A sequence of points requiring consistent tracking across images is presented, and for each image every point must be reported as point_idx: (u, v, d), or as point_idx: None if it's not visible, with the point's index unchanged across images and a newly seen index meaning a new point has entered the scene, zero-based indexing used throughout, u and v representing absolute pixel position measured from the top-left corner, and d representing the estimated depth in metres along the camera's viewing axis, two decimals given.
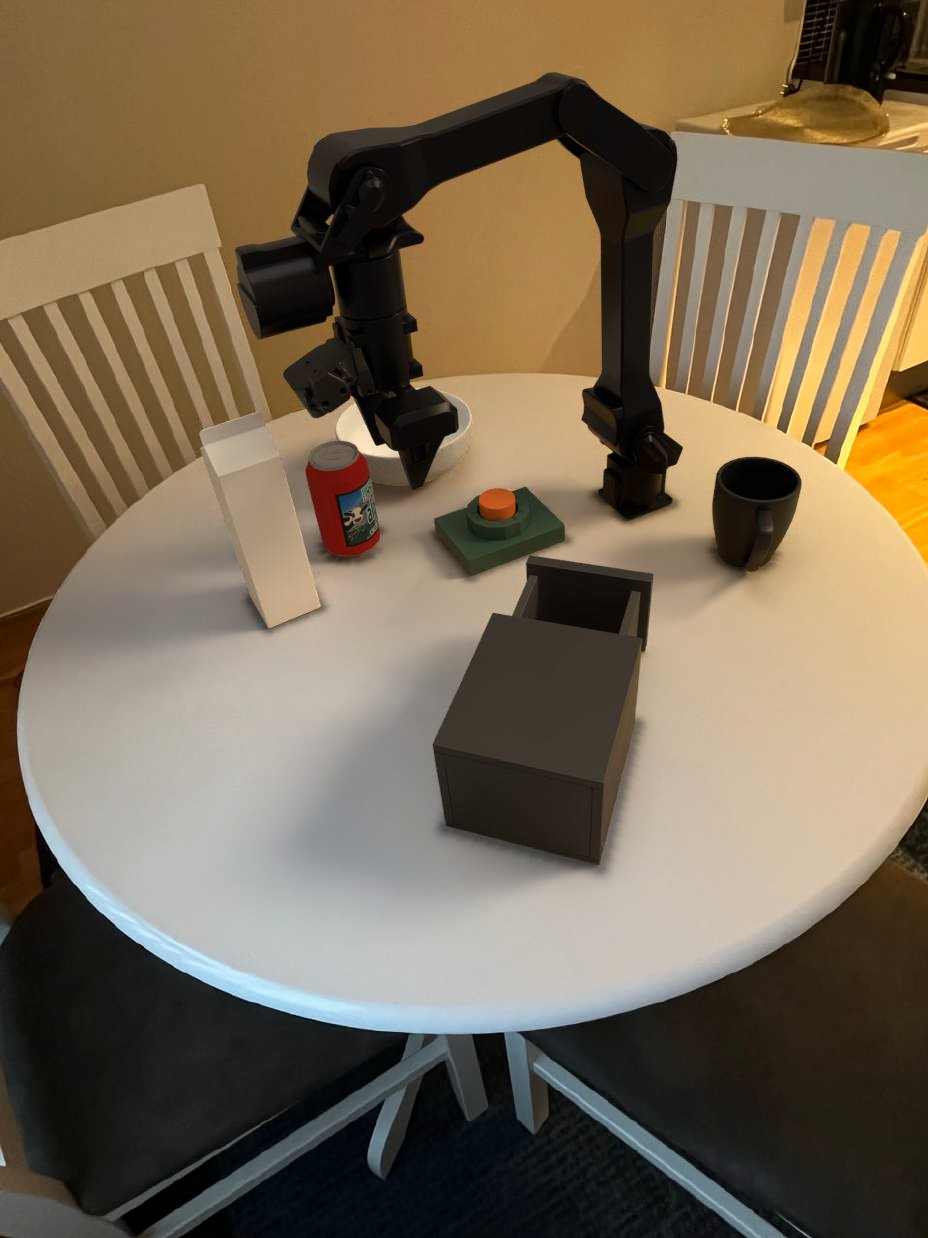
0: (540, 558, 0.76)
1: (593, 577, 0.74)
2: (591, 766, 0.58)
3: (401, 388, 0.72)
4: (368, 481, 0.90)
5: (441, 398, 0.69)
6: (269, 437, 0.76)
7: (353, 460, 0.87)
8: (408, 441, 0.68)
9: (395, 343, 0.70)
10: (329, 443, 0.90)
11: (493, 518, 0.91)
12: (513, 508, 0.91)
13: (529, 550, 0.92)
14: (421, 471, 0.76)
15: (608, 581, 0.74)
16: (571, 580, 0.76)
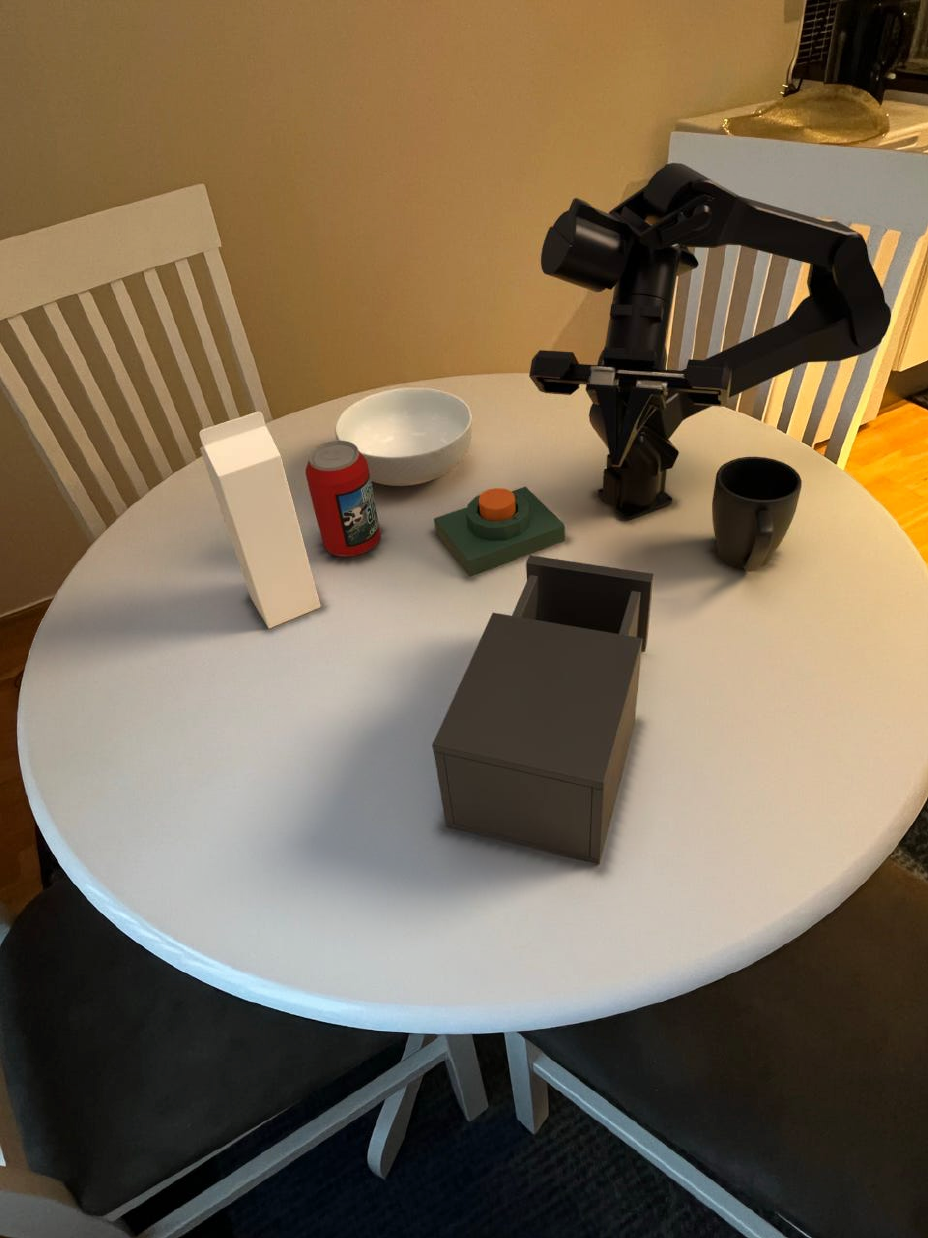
0: (540, 558, 0.76)
1: (593, 577, 0.74)
2: (591, 766, 0.58)
3: (595, 365, 0.81)
4: (368, 481, 0.90)
5: (547, 351, 0.81)
6: (269, 437, 0.76)
7: (353, 460, 0.87)
8: None
9: (608, 326, 0.81)
10: (329, 443, 0.90)
11: (493, 518, 0.91)
12: (513, 508, 0.91)
13: (529, 550, 0.92)
14: None
15: (608, 581, 0.74)
16: (571, 580, 0.76)
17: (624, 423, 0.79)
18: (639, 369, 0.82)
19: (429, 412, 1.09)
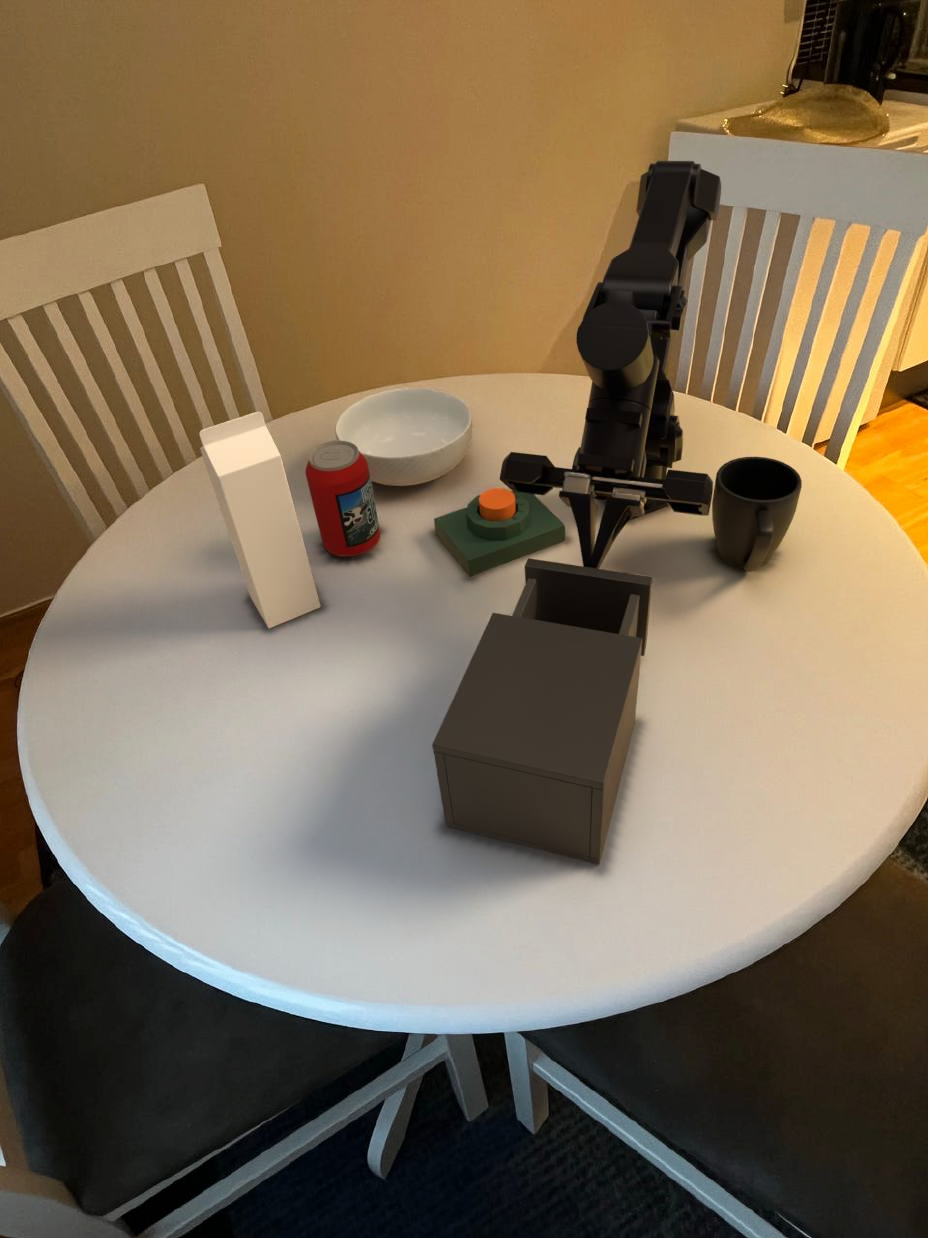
0: (538, 561, 0.76)
1: (592, 580, 0.74)
2: (591, 766, 0.58)
3: (570, 469, 0.77)
4: (368, 481, 0.90)
5: (519, 453, 0.76)
6: (270, 437, 0.76)
7: (353, 460, 0.87)
8: None
9: None
10: (329, 443, 0.90)
11: (493, 518, 0.91)
12: (513, 508, 0.91)
13: (529, 550, 0.92)
14: None
15: (607, 584, 0.74)
16: (570, 583, 0.75)
17: (599, 533, 0.74)
18: (616, 473, 0.77)
19: (429, 412, 1.09)
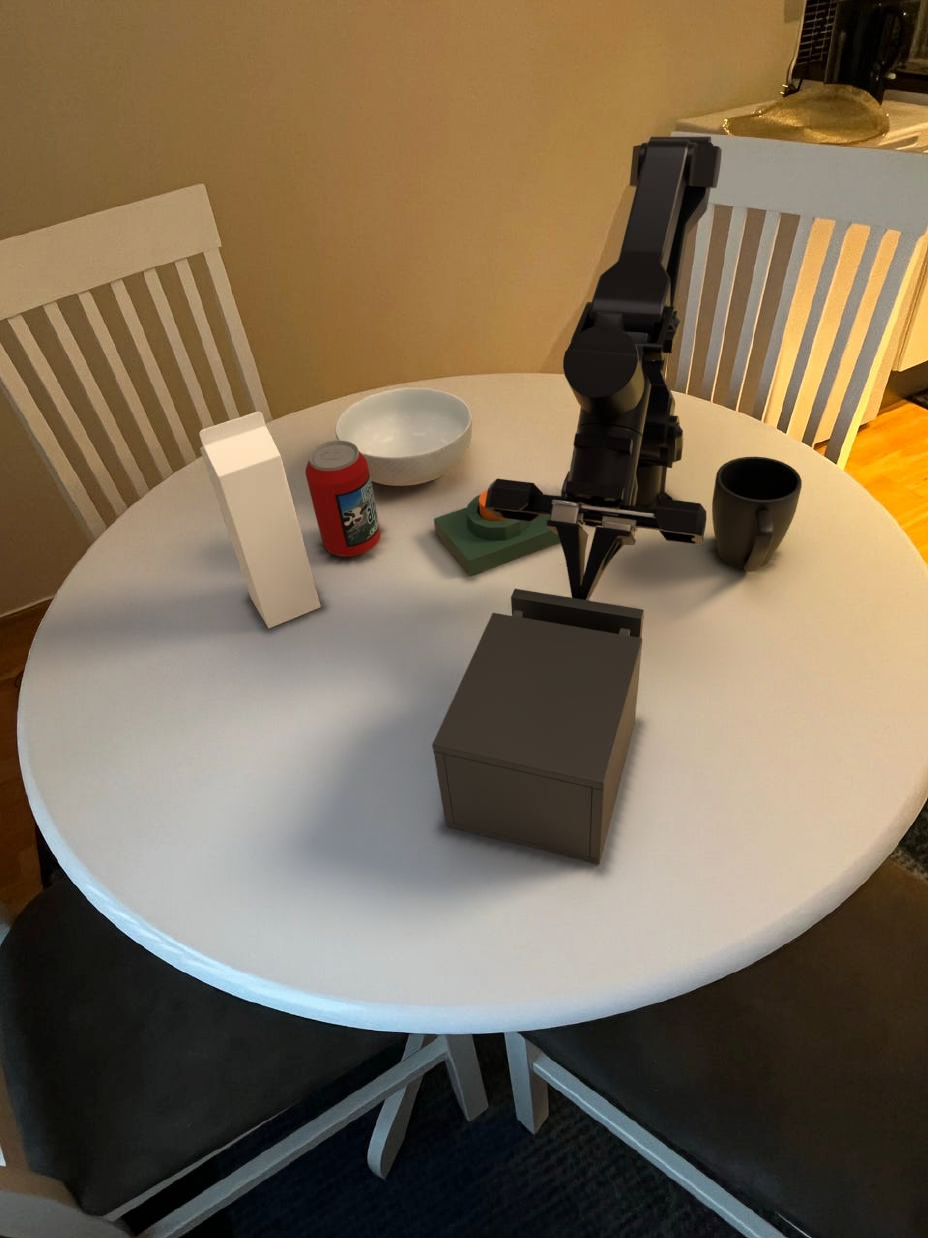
0: (525, 592, 0.73)
1: (581, 613, 0.71)
2: (591, 766, 0.58)
3: (558, 496, 0.74)
4: (368, 481, 0.90)
5: None
6: (270, 437, 0.76)
7: (353, 460, 0.87)
8: None
9: None
10: (329, 443, 0.90)
11: (493, 518, 0.91)
12: None
13: (529, 550, 0.92)
14: None
15: (596, 617, 0.71)
16: (558, 615, 0.72)
17: (588, 564, 0.71)
18: (606, 501, 0.74)
19: (429, 412, 1.09)
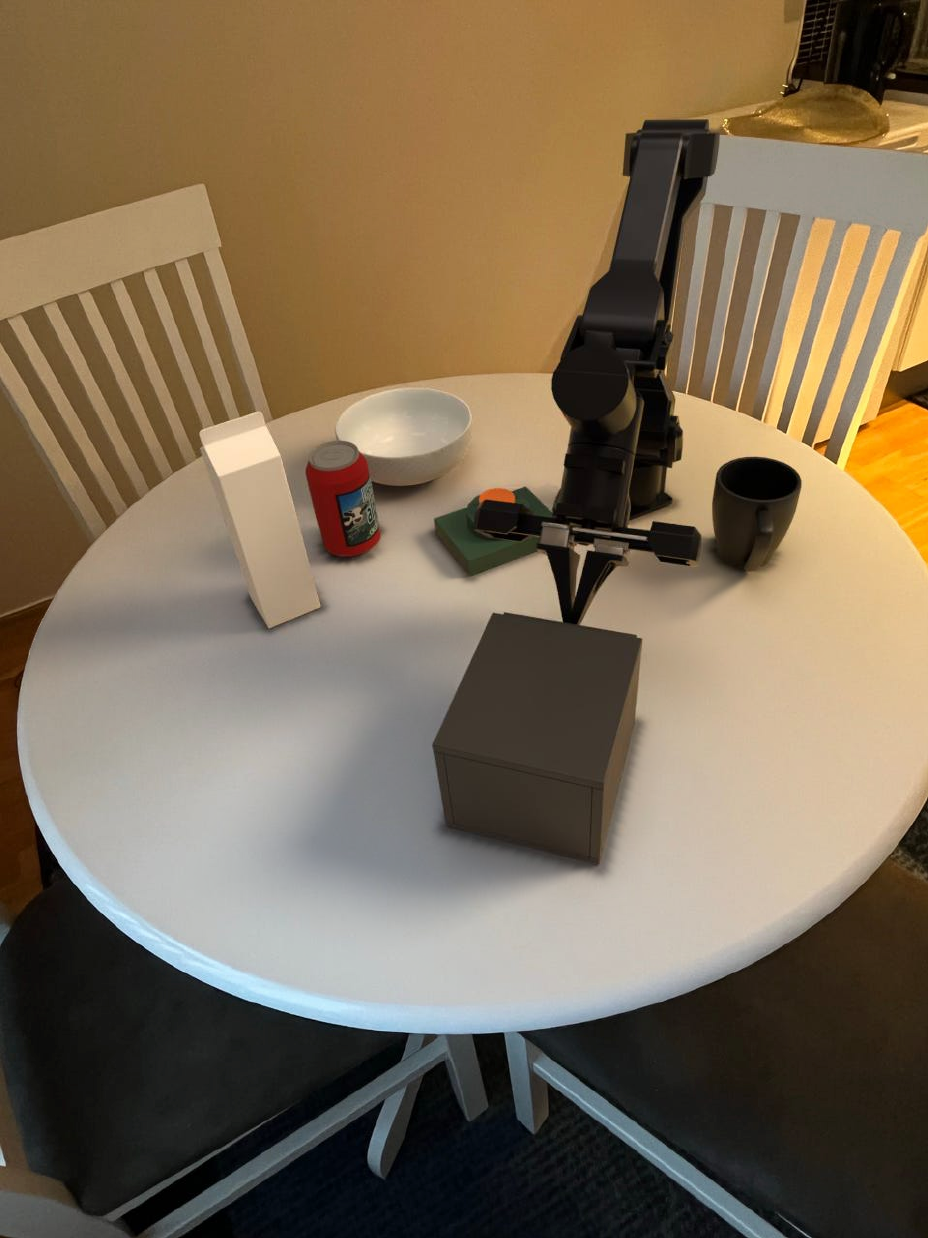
0: (515, 615, 0.71)
1: None
2: (591, 766, 0.58)
3: (548, 517, 0.71)
4: (368, 481, 0.90)
5: (493, 500, 0.71)
6: (270, 437, 0.76)
7: (353, 460, 0.87)
8: None
9: (563, 473, 0.71)
10: (329, 443, 0.90)
11: None
12: None
13: (529, 550, 0.92)
14: None
15: None
16: None
17: (579, 589, 0.69)
18: (598, 521, 0.72)
19: (429, 412, 1.09)
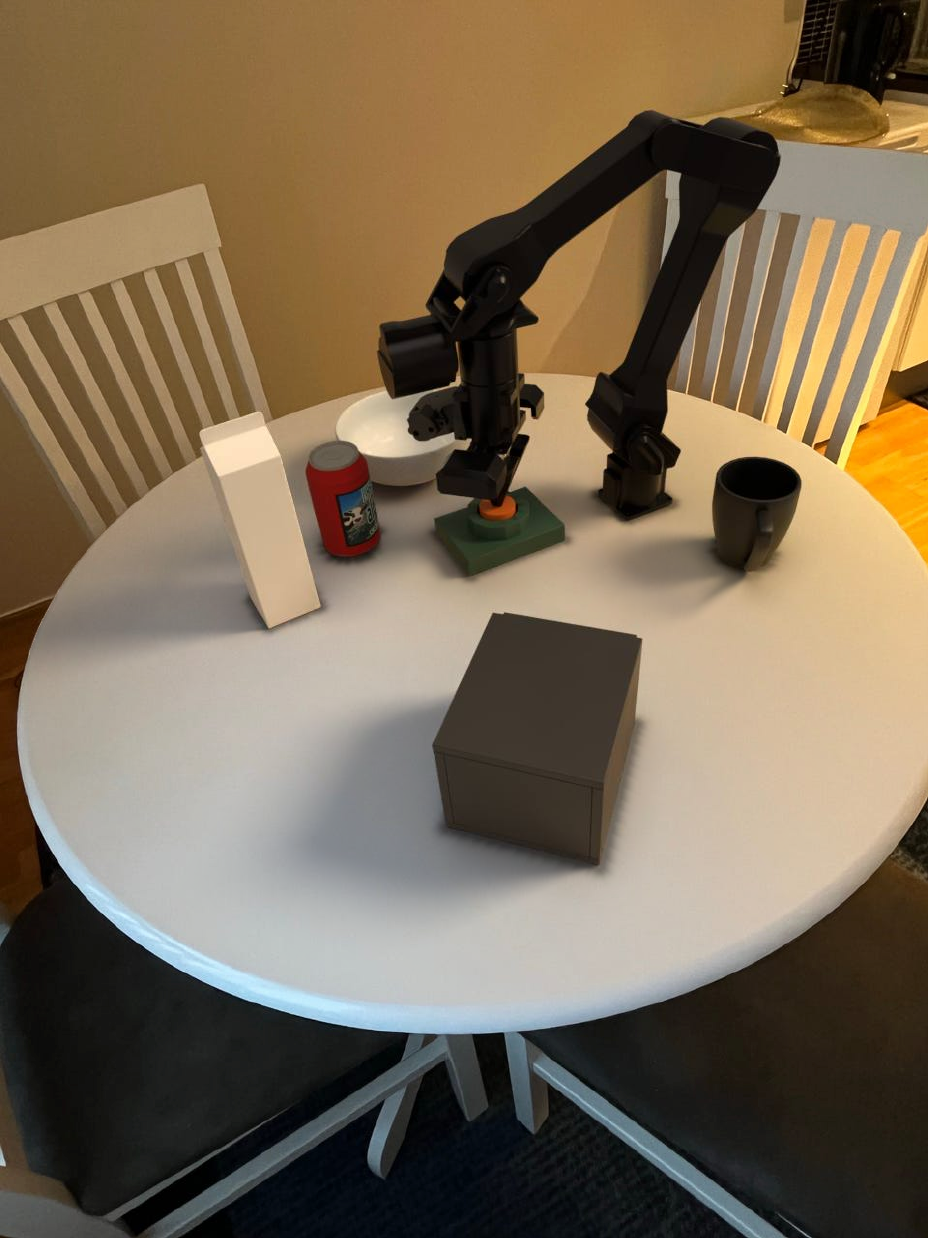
0: (515, 615, 0.71)
1: None
2: (591, 766, 0.58)
3: (485, 446, 0.83)
4: (368, 481, 0.90)
5: (487, 468, 0.79)
6: (270, 437, 0.76)
7: (353, 460, 0.87)
8: (447, 489, 0.81)
9: (487, 408, 0.81)
10: (329, 443, 0.90)
11: None
12: (513, 514, 0.92)
13: (529, 550, 0.92)
14: None
15: None
16: None
17: (513, 475, 0.89)
18: None
19: None
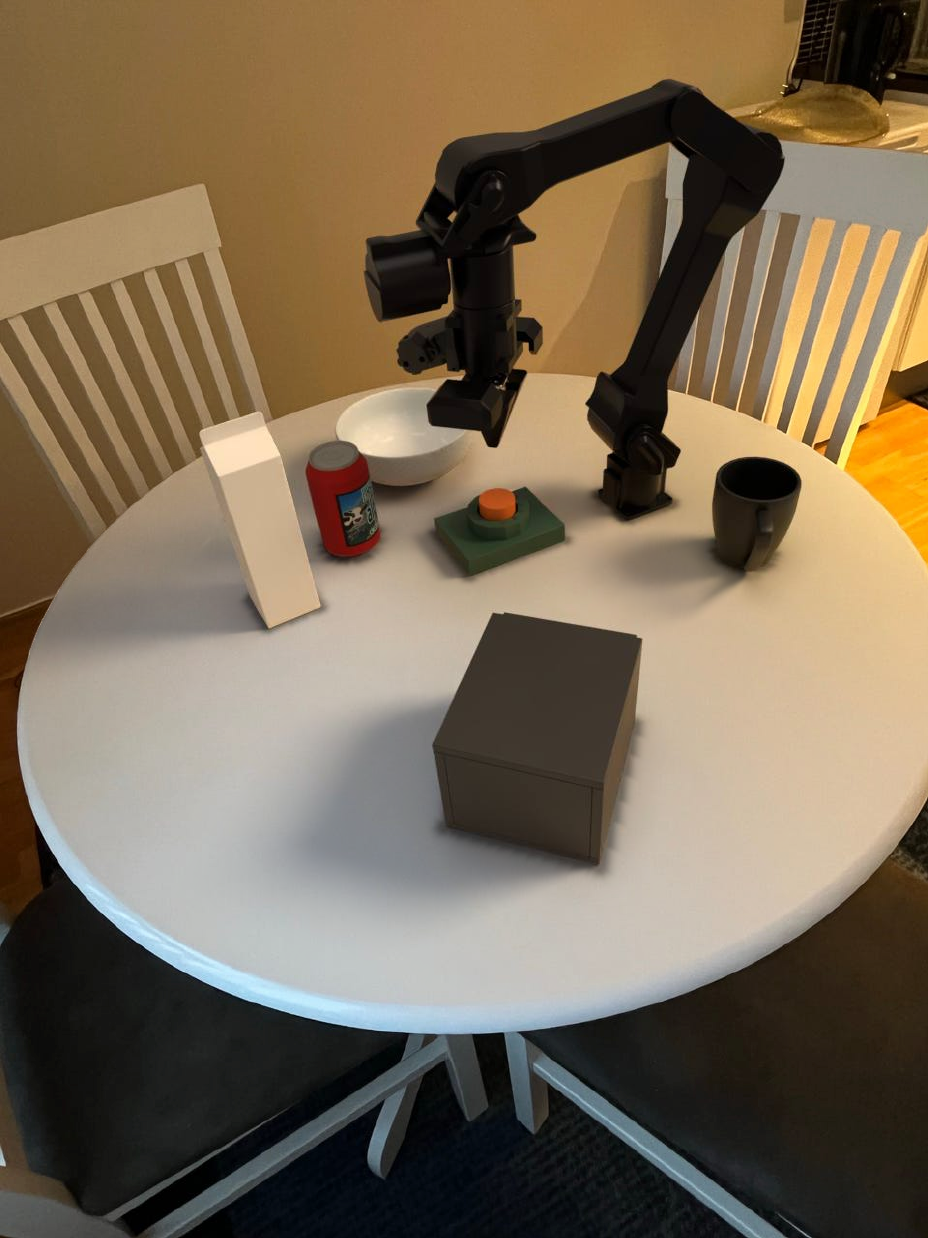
0: (515, 615, 0.71)
1: None
2: (591, 766, 0.58)
3: (479, 376, 0.78)
4: (368, 481, 0.90)
5: (481, 396, 0.74)
6: (269, 437, 0.76)
7: (353, 460, 0.87)
8: (438, 421, 0.76)
9: (482, 335, 0.76)
10: (329, 443, 0.90)
11: (493, 518, 0.91)
12: (513, 508, 0.91)
13: (529, 550, 0.92)
14: (492, 433, 0.85)
15: None
16: None
17: (510, 412, 0.84)
18: None
19: None
